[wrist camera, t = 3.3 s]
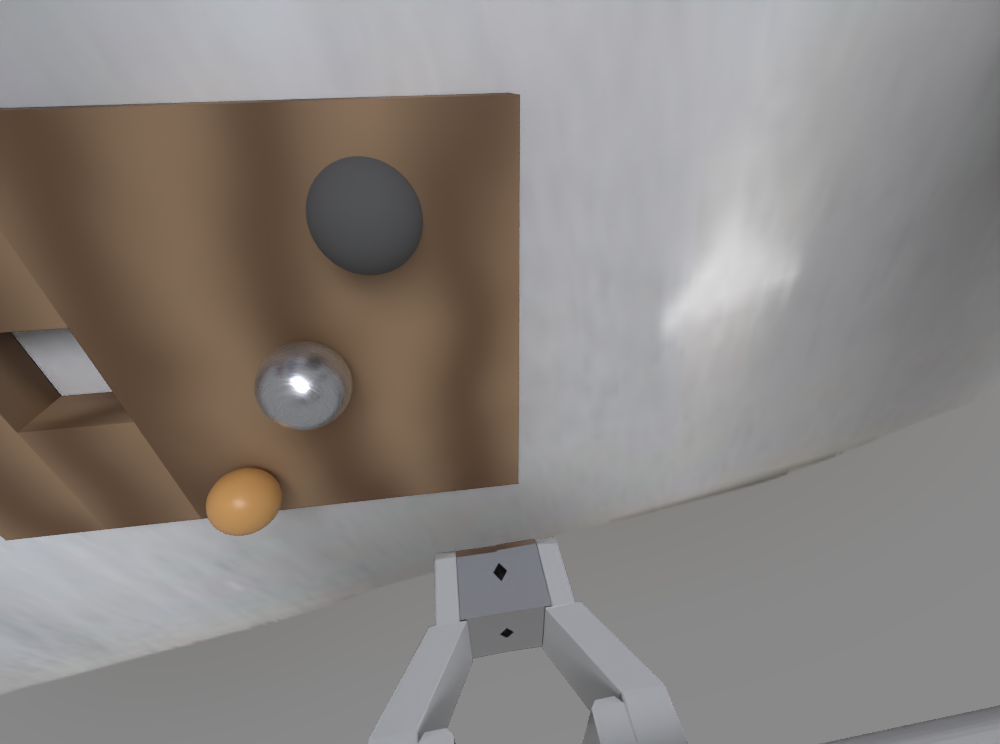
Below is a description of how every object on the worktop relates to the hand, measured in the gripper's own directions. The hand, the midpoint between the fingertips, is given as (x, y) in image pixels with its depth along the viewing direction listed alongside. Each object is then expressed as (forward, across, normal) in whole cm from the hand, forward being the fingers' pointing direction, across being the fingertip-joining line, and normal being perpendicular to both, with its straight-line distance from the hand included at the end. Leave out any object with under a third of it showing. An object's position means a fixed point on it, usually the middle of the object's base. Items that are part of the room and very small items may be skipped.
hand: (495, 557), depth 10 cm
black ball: (+8, +3, -7) cm, 10 cm away
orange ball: (+8, +11, +6) cm, 15 cm away
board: (+12, +11, -1) cm, 16 cm away
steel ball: (+8, +6, -1) cm, 10 cm away
